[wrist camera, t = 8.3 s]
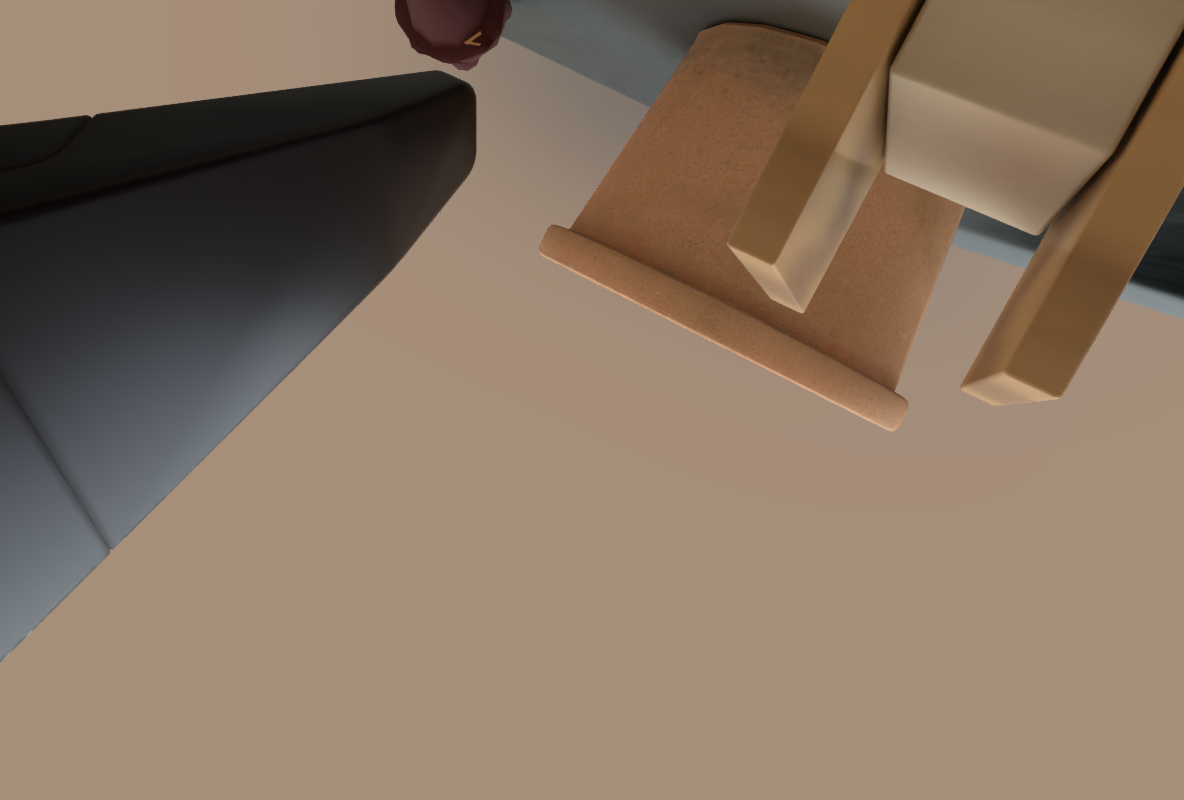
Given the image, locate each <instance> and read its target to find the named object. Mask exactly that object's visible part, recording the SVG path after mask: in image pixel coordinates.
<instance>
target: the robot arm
mask: <svg viewBox="0 0 1184 800" xmlns="http://www.w3.org/2000/svg"><path fill="white" fill-rule="evenodd" d="M475 158H476V95H475V92H474V89H473V88H472V86H471V85H470V84H469V83H467V82H465V81H463V80H461V79H458V78H456V77H454V76H452V75H449V74H447V73H445V72H442V71H437V70H435V71H426V72H418V73H410V74H403V75H395V76H388V77H379V78H372V79H364V80H356V81H349V82H341V83H333V84H325V85H317V86H310V87H302V88H295V89H287V90H279V91H271V92H263V93H255V94H248V95H240V96H232V97H225V98H217V99H209V100H202V101H193V102H186V103H178V104H171V105H162V106H155V107H148V108H139V109H132V110H124V111H116V112H108V113H100V114H96V115H95V116H94V117H93V118H91V117H90V116H87V115H84V116H76V117H68V118H61V119H54V120H45V121H36V122H27V123H18V124H10V125H1V126H0V662H1V661H2V660H4V659H5V657H6V656H8V654H10V653H11V652H12V651H13V650H14V648H16V647H17V646H18V645H19V644H20V643H21V642H22V641H23V639H24V638H26V636H28V635H29V634H30V633H31V631H33V630H34V629H35V628H36V627H37V626H38V624H40V623H41V622H42V621H43V620H44V619H45V618H46V617H47V616H48V615H49V614H50V612H52V610H53V609H55V608H56V607H57V606H58V605H59V603H61V601H63V599H65V598H66V597H67V596H68V595H69V594H70V593H71V592H72V591H73V590H74V589H75V588H76V587H77V586H78V584H80V583H81V582H82V581H83V580H84V579H85V578H86V577H87V576H88V575H89V574H90V573H91V572H92V571H93V570H94V569H95V568H96V567H97V565H99V564H100V563H101V562H102V561H103V560H104V559H105V558H106V557H107V556H108V555H109V553H110V549H114V548H115V547H116V546H117V545H118V544H119V543H120V542H121V541H122V540H123V539H124V538H125V537H126V536H127V535H128V534H129V533H130V532H131V531H132V530H133V529H134V528H135V527H136V526H137V525H138V524H139V523H140V522H141V521H142V520H143V519H144V518H145V517H146V516H147V515H148V514H149V513H150V512H151V511H152V510H153V509H154V508H155V507H156V506H157V505H158V504H159V503H160V502H161V501H162V500H163V499H164V498H165V497H166V496H167V495H168V494H169V493H170V492H171V491H172V490H173V489H174V488H175V487H176V486H177V485H178V484H179V483H180V482H181V481H182V480H183V479H184V478H185V477H186V476H187V475H188V474H189V473H190V472H191V471H192V470H193V469H194V468H195V467H196V466H197V465H198V464H199V463H200V462H201V461H202V460H203V459H204V458H205V457H206V456H207V455H208V454H209V453H210V452H211V451H212V450H213V449H214V448H215V447H216V446H217V445H218V444H219V443H220V442H221V441H222V440H223V439H224V438H225V437H226V436H227V435H228V434H229V433H230V432H231V431H232V430H233V429H234V428H235V427H236V426H237V425H238V424H239V423H240V422H241V421H242V420H243V419H244V418H245V417H246V416H247V415H248V414H249V413H250V412H251V411H252V410H253V409H254V408H255V407H256V406H257V405H258V404H259V403H260V402H261V401H262V400H263V399H264V398H265V397H267V395H269V393H271V392H272V391H273V389H274V388H276V386H278V384H279V383H280V382H281V381H283V380H284V379H285V378H286V377H287V376H288V375H289V374H290V372H291V371H293V370H294V369H295V367H297V366H298V365H299V364H300V363H301V362H302V361H303V359H305V358H306V357H307V356H308V354H310V353H311V351H312V350H314V349H315V348H316V346H318V345H319V344H320V343H321V342H322V341H323V339H325V338H326V337H327V336H328V335H329V334H330V333H331V331H333V329H335V328H336V327H337V326H338V325H339V324H340V323H341V322H342V321H343V319H345V318H346V317H347V316H348V315H349V314H350V312H352V311H353V310H354V309H355V308H356V307H357V306H358V305H359V304H360V303H361V302H362V301H363V300H364V299H365V298H366V297H367V296H368V295H369V294H370V293H371V292H372V291H373V290H374V289H375V288H376V286H378V285H379V283H381V281H383V279H384V278H385V277H386V276H387V275H388V274H389V273H390V272H391V271H392V270H393V269H394V267H395V266H396V265H397V264H398V263H399V262H400V260H401V259H402V258H403V257H404V256H405V255H406V253H407V252H408V251H409V249H410V248H411V247H412V246H413V245H414V243H415V242H416V241H417V240H418V238H419V237H420V235H422V233H423V232H424V231H425V229H426V228H427V227H428V226H429V225H430V223H431V222H432V221H433V219H434V218H435V217H436V216H437V214H438V213H439V212H440V211H441V209H442V208H443V207H444V206H445V204H446V203H447V202H448V201H449V199H450V198H451V197H452V196H453V194H454V193H455V192H456V191H457V189H458V188H459V187H460V186H461V184H462V183H463V182H464V181H465V179H466V178H467V176H468V175H469V174H470V172H471V170H472V168H473V165H474V162H475Z"/></svg>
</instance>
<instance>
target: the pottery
mask: <svg viewBox="0 0 1184 800" xmlns="http://www.w3.org/2000/svg"><path fill="white" fill-rule="evenodd" d="M827 45H828V43H827V42H825V41H823V40H820V39H817V38H813V37H809V36H806V35H802V34H799V33H795V32H792V31H788V30H784V29H781V28H777V27H774V26H770V25H762V24H749V23H736V22H727V23H724V24H721V25H718V26H715V27H712V28H709V29H706V30H703V31H700V32H699V33H698V35H697V37H696V39H695V41H694V43H693V45H692V46H691V48H690V49H689V51H688V52H687V54H686V55H685V57H684V58H683V60H682V61H681V63H680V64H679V66H678V67H677V69H676V70H675V72H674V73H673V75H672V76H671V78H670V79H669V81H668V82H667V84H666V85H665V87H664V88H663V90H662V91H661V93H660V94H659V96H658V97H657V99H656V100H655V102H654V103H653V105H652V106H651V108H650V109H649V111H648V112H647V114H646V115H645V117H644V118H643V120H642V121H641V123H640V124H639V126H638V127H637V129H636V131H635V132H634V133H633V135H632V136H631V138H630V140H629V141H628V142H627V144H626V145H625V147H624V148H623V150H622V151H621V153H620V155H619V156H618V157H617V159H616V160H615V162H614V163H613V165H612V167H611V168H610V170H609V171H608V173H607V174H606V175H605V177H604V179H603V180H602V182H601V183H600V185H599V186H598V188H597V189H596V191H595V192H594V194H593V195H592V197H591V198H590V200H589V201H588V203H587V204H586V206H585V207H584V209H583V210H582V212H581V213H580V215H579V216H578V218H577V219H576V221H575V222H574V224H573V225H572V227H571V228H570V229H566V228H563V227H560V226H557V225H551V226H550V227H549V228H548V229H547V232H546V233H545V235H544V238H543V240H542V242H541V244H540V246H539V253H540V254H541V255H542V256H543V257H545V258H547V259H549V260H551V261H553V262H555V263H557V264H559V265H561V266H563V267H565V268H567V269H569V270H571V271H573V272H575V273H577V274H579V275H581V276H583V277H585V278H586V279H588V280H590V281H592V282H594V283H596V284H599V285H600V286H602V287H604V288H606V289H609V290H610V291H612V292H614V293H616V294H618V295H620V296H622V297H624V298H626V299H628V300H630V301H632V302H634V303H636V304H638V305H640V306H642V307H644V308H646V309H648V310H650V311H652V312H654V313H656V314H658V315H660V316H662V317H664V318H666V319H668V320H670V321H672V322H674V323H676V324H678V325H680V326H682V327H684V328H685V329H687V330H689V331H692V332H693V333H695V334H698V335H700V336H701V337H703V338H705V339H707V340H709V341H711V342H713V343H715V344H717V345H719V346H721V347H723V348H725V349H727V350H729V351H731V352H733V353H735V354H737V355H739V356H741V357H743V358H745V359H747V360H749V361H751V362H753V363H755V364H757V365H759V366H761V367H763V368H765V369H767V370H769V371H771V372H773V373H775V374H777V375H779V376H781V377H783V378H785V379H787V380H789V381H791V382H793V383H794V384H796V385H798V386H801V387H802V388H805V389H806V390H808V391H811V392H812V393H814V394H817V395H818V396H820V397H823V398H824V399H826V400H828V401H830V402H832V403H834V404H836V405H838V406H840V407H842V408H844V409H846V410H848V411H850V412H852V413H854V414H856V415H858V416H860V417H862V418H864V419H866V420H868V421H870V422H872V423H874V424H876V425H878V426H880V427H882V428H884V429H886V430H888V431H895V430H896V429H897V428H898V427H899V425H900V423H901V422H902V420H903V418H904V416H905V414H906V413H907V411H908V401H907V400H906V399H905V398H904V397H902V396H900V395H899V394H897V393H895V392H894V391H895V388H896V386H897V383H898V381H899V378H900V376H901V373H902V370H903V368H904V365H905V363H906V360H907V357H908V355H909V352H910V350H911V347H912V344H913V342H914V339H915V336H916V334H917V331H918V329H919V326H920V323H921V321H922V318H923V316H924V313H925V310H926V308H927V305H928V302H929V300H930V297H931V295H932V292H933V290H934V287H935V284H936V281H937V279H938V277H939V274H940V271H941V269H942V266H943V263H944V261H945V258H946V256H947V253H948V250H949V248H950V245H951V243H952V240H953V237H954V235H955V232H956V230H957V227H958V224H959V222H960V219H961V217H962V214H963V211H964V209H965V206H963V205H961V204H958V203H956V202H953V201H951V200H949V199H946V198H944V197H941V196H939V195H937V194H934V193H932V192H929V191H927V190H925V189H922V188H920V187H918V186H915V185H913V184H910V183H908V182H906V181H903V180H901V179H898V178H896V177H894V176H891V175H889V174H887V173H886V172H885V171H884V165H885V161H884V163H883V165H882V166H881V168H880V170H879V172H878V174H877V176H876V178H875V180H874V182H873V183H872V185H871V187H870V189H869V191H868V193H867V195H866V197H865V199H864V200H863V202H862V204H861V206H860V208H859V210H858V212H857V214H856V215H855V217H854V219H853V221H852V223H851V225H850V227H849V229H848V231H847V232H846V234H845V236H844V238H843V240H842V242H841V244H840V246H839V248H838V249H837V251H836V253H835V255H834V257H833V259H832V261H831V263H830V265H829V266H828V268H827V270H826V272H825V274H824V276H823V278H822V280H821V281H820V283H819V285H818V287H817V289H816V291H815V293H814V295H813V297H812V298H811V300H810V302H809V304H808V306H807V308H806V310H805V312H804V313H799V312H797V311H795V310H793V309H791V308H789V307H786V306H784V305H782V304H780V303H778V302H776V301H774V300H772V299H771V298H770V297H769V296H768V295H767V293H766V292H765V291H764V290H763V288H762V287H761V286H760V285H759V284H758V282H757V281H756V280H755V279H754V277H753V276H752V275H751V274H750V272H749V271H748V270H747V269H746V267H745V266H744V265H743V264H742V263H741V261H740V260H739V259H738V258H737V256H736V255H735V254H734V253H733V251H732V250H731V249H730V248H729V246H728V245H727V240H728V238H729V236H730V234H731V232H732V230H733V228H734V226H735V225H736V223H737V221H738V219H739V217H740V215H741V213H742V211H743V209H744V207H745V205H746V203H747V201H748V199H749V197H750V195H751V193H752V191H753V189H754V187H755V186H756V184H757V182H758V180H759V178H760V176H761V174H762V172H763V170H764V168H765V166H766V164H767V162H768V160H769V158H770V156H771V154H772V152H773V150H774V148H775V147H776V145H777V143H778V141H779V139H780V137H781V135H782V133H783V131H784V129H785V127H786V125H787V123H788V121H789V119H790V117H791V115H792V113H793V111H794V109H795V108H796V106H797V104H798V102H799V100H800V98H801V96H802V94H803V92H804V90H805V88H806V86H807V84H808V82H809V80H810V78H811V76H812V74H813V72H814V70H815V69H816V67H817V65H818V63H819V61H820V59H821V57H822V55H823V53H824V51H825V49H826V47H827Z"/></svg>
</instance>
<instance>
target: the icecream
mask: <svg viewBox="0 0 1184 800" xmlns="http://www.w3.org/2000/svg"><path fill="white" fill-rule="evenodd" d="M511 13H512V7H511V3H510V1H509V0H395V14H396V15H395V16H396V18H397V21H398V24H399V25H400V27H401V28H402V29H403V31H404V32H405V34H406V35H407V37H408V38H409V40H410V44H411V47H412V48H414V49H415V50H416V51H417V52H418V53H420V54H425V55H428V56H430V57H432V58H434V59H437V60H439V61H441V62H444V63H449V64H452V65H454V66H455V67H456V68H457V69H458V70H467V71H468V70H470V69H471V68H473V67H474V66H476V65H477V63H478V61H479V58H480V57H481V56H482V55H483V54H485V53H486V52H488V51H489V50H491V49H492V48H493V47H495V46H496V45H497V44H498V41H499V39H500V36H501V33H502V31H503V28H504V25H505V22H506V21H507V20H508V19H509V18H510V16H511Z"/></svg>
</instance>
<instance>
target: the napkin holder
mask: <svg viewBox="0 0 1184 800" xmlns="http://www.w3.org/2000/svg"><path fill="white" fill-rule="evenodd" d="M884 161H885V165H884V171H885V172H886V173H887V174H889V175H891V176H894V177H896V178H898V179H901V180H903V181H906V182H908V183H910V184H913V185H915V186H918V187H920V188H922V189H925V190H927V191H929V192H932V193H934V194H937V195H939V196H941V197H944V198H946V199H949V200H951V201H953V202H956V203H958V204H961V205H963V206H965V207H968V208H970V209H973V210H975V211H977V212H980V213H982V214H985V215H987V216H989V217H992V218H994V219H997V220H999V221H1001V222H1004V223H1006V224H1009V225H1011V226H1013V227H1016V228H1018V229H1020V230H1023V231H1025V232H1028V233H1030V234H1032V235H1039V234H1040V233H1041V232H1042V231H1043V230H1044V229H1045V228H1046V227H1047V226H1048V225H1049V224H1050V222H1051V221H1052V220H1053V219H1054V220H1053V222H1052V223H1051V225H1050V227H1049V229H1048V231H1047V232H1046V234H1045V236H1044V238H1043V240H1042V241H1041V243H1040V245H1039V247H1038V248H1037V250H1036V252H1035V254H1034V256H1033V257H1032V259H1031V261H1030V263H1029V265H1028V266H1027V268H1026V270H1025V272H1024V274H1023V275H1022V277H1021V279H1020V281H1019V283H1018V284H1017V286H1016V288H1015V289H1014V291H1013V293H1012V295H1011V297H1010V298H1009V300H1008V302H1007V304H1006V306H1005V307H1004V309H1003V311H1002V313H1001V315H1000V316H999V318H998V320H997V322H996V324H995V325H994V327H993V329H992V331H991V333H990V334H989V336H988V338H987V339H986V341H985V343H984V345H983V347H982V348H981V350H980V352H979V354H978V356H977V357H976V359H975V361H974V363H973V365H972V366H971V368H970V370H969V372H968V374H967V375H966V377H965V379H964V380H963V382H962V384H961V390H962V391H964V392H966V393H968V394H970V395H973V396H974V397H977V398H979V399H981V400H983V401H985V402H987V403H989V404H991V405H993V406H1002V405H1011V404H1019V403H1028V402H1037V401H1045V400H1053V399H1059V398H1061V397H1062V396H1063V394H1064V393H1065V391H1066V389H1067V387H1068V386H1069V384H1070V382H1071V380H1072V379H1073V377H1074V375H1075V374H1076V372H1077V370H1078V368H1079V367H1080V365H1081V363H1082V361H1083V360H1084V358H1085V356H1086V355H1087V353H1088V351H1089V349H1090V348H1091V346H1092V344H1093V342H1094V341H1095V339H1096V337H1097V335H1098V334H1099V332H1100V330H1101V329H1102V327H1103V325H1104V323H1105V322H1106V320H1107V318H1108V316H1109V315H1110V313H1111V311H1112V310H1113V308H1114V306H1115V304H1116V303H1117V301H1118V299H1119V297H1120V296H1121V294H1122V292H1123V291H1124V289H1125V287H1126V285H1127V284H1128V282H1129V280H1130V278H1131V277H1132V275H1133V273H1134V271H1135V270H1136V268H1137V266H1138V265H1139V263H1140V261H1141V259H1142V258H1143V256H1144V254H1145V252H1146V251H1147V249H1148V247H1149V245H1150V244H1151V242H1152V240H1153V239H1154V237H1155V235H1156V233H1157V232H1158V230H1159V228H1160V226H1161V225H1162V223H1163V221H1164V220H1165V218H1166V216H1167V214H1168V213H1169V211H1170V209H1171V207H1172V206H1173V204H1174V202H1175V200H1176V199H1177V197H1178V195H1179V194H1180V192H1181V190H1182V188H1183V187H1184V0H850V2H849V4H848V6H847V8H846V10H845V12H844V14H843V16H842V18H841V20H840V22H839V24H838V26H837V28H836V30H835V31H834V33H833V35H832V37H831V39H830V41H829V43H828V45H827V47H826V49H825V51H824V53H823V55H822V57H821V59H820V61H819V63H818V65H817V67H816V69H815V70H814V72H813V74H812V76H811V78H810V80H809V82H808V84H807V86H806V88H805V90H804V92H803V94H802V96H801V98H800V100H799V102H798V104H797V106H796V108H795V109H794V111H793V113H792V115H791V117H790V119H789V121H788V123H787V125H786V127H785V129H784V131H783V133H782V135H781V137H780V139H779V141H778V143H777V145H776V147H775V148H774V150H773V152H772V154H771V156H770V158H769V160H768V162H767V164H766V166H765V168H764V170H763V172H762V174H761V176H760V178H759V180H758V182H757V184H756V186H755V187H754V189H753V191H752V193H751V195H750V197H749V199H748V201H747V203H746V205H745V207H744V209H743V211H742V213H741V215H740V217H739V219H738V221H737V223H736V225H735V226H734V228H733V230H732V232H731V234H730V236H729V238H728V240H727V245H728V246H729V248H730V249H731V250H732V251H733V253H734V254H735V255H736V256H737V258H738V259H739V260H740V261H741V263H742V264H743V265H744V266H745V267H746V269H747V270H748V271H749V272H750V274H751V275H752V276H753V277H754V279H755V280H756V281H757V282H758V284H759V285H760V286H761V287H762V288H763V290H764V291H765V292H766V293H767V295H768V296H769V297H770V298H771V299H772V300H774V301H776V302H778V303H780V304H782V305H784V306H786V307H789V308H791V309H793V310H795V311H797V312H799V313H804V312H805V310H806V308H807V306H808V304H809V302H810V300H811V298H812V297H813V295H814V293H815V291H816V289H817V287H818V285H819V283H820V281H821V280H822V278H823V276H824V274H825V272H826V270H827V268H828V266H829V265H830V263H831V261H832V259H833V257H834V255H835V253H836V251H837V249H838V248H839V246H840V244H841V242H842V240H843V238H844V236H845V234H846V232H847V231H848V229H849V227H850V225H851V223H852V221H853V219H854V217H855V215H856V214H857V212H858V210H859V208H860V206H861V204H862V202H863V200H864V199H865V197H866V195H867V193H868V191H869V189H870V187H871V185H872V183H873V182H874V180H875V178H876V176H877V174H878V172H879V170H880V168H881V166H882V165H883V163H884Z"/></svg>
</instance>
